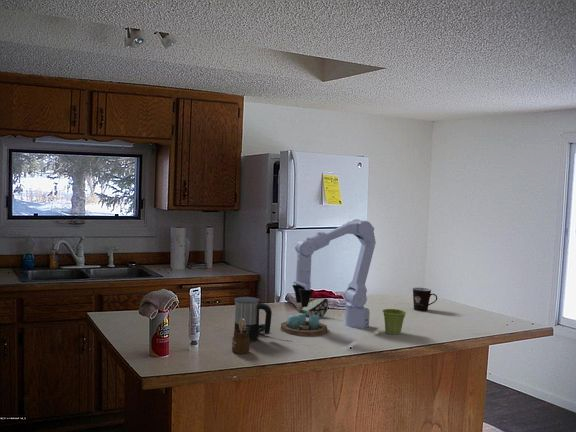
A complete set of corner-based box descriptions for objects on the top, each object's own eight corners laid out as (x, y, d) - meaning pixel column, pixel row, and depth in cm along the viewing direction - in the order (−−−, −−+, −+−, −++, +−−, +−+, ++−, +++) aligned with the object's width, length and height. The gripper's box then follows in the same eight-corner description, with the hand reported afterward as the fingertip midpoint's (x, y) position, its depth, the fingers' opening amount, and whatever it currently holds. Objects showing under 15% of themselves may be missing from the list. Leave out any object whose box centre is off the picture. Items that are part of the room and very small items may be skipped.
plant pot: (408, 332, 246) (409, 311, 246) (400, 337, 238) (401, 315, 238) (386, 328, 251) (387, 307, 251) (377, 333, 243) (379, 311, 242)
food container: (298, 322, 266) (313, 324, 259) (293, 310, 265) (309, 311, 257) (317, 309, 274) (332, 310, 266) (313, 297, 273) (328, 298, 265)
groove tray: (334, 331, 242) (335, 325, 242) (313, 341, 226) (313, 334, 226) (295, 324, 251) (295, 318, 251) (271, 332, 235) (272, 326, 235)
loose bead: (294, 325, 244) (295, 313, 244) (304, 325, 245) (304, 313, 245) (296, 328, 240) (297, 315, 240) (306, 328, 241) (307, 315, 241)
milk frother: (234, 342, 219) (236, 301, 218) (228, 331, 234) (229, 293, 233) (273, 341, 223) (275, 301, 222) (264, 330, 238) (266, 293, 237)
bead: (294, 330, 236) (294, 318, 235) (285, 329, 238) (285, 316, 237) (299, 328, 239) (299, 316, 239) (290, 327, 241) (291, 314, 241)
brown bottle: (249, 349, 211) (250, 315, 211) (248, 354, 205) (250, 319, 204) (232, 348, 211) (233, 314, 210) (231, 354, 205) (232, 318, 204)
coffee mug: (407, 308, 293) (409, 287, 293) (422, 307, 297) (423, 287, 296) (422, 313, 283) (424, 292, 282) (437, 312, 286) (439, 291, 286)
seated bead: (320, 328, 241) (321, 316, 241) (315, 330, 238) (316, 317, 238) (311, 326, 243) (312, 314, 243) (306, 328, 240) (307, 316, 240)
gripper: (289, 267, 247) (287, 300, 248) (298, 273, 233) (297, 308, 234) (305, 267, 249) (304, 300, 250) (316, 273, 235) (314, 308, 236)
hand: (301, 304), depth 242 cm, fingers open, 7 cm apart
